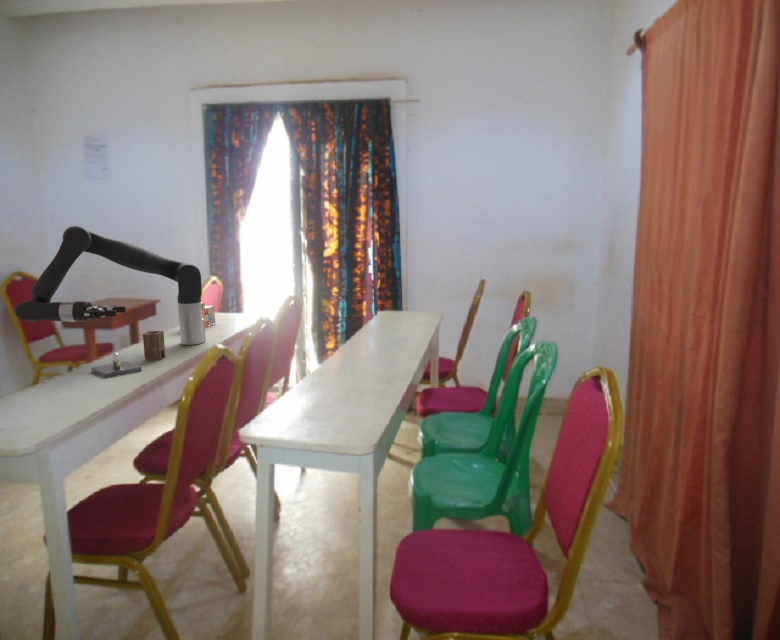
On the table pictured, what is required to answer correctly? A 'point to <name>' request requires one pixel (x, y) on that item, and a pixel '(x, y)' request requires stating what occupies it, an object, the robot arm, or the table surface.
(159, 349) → the sleeve
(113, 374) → the base plate
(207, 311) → the stack of blocks
